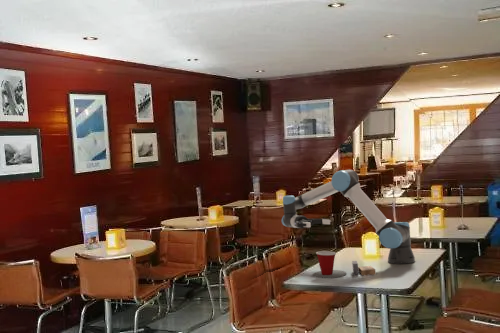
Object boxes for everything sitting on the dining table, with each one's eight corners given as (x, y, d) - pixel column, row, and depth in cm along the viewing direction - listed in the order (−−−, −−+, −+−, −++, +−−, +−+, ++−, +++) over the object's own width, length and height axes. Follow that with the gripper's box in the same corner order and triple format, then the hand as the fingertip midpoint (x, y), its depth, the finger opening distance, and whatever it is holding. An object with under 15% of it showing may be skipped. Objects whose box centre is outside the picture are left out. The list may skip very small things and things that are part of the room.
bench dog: (357, 271, 306) (356, 260, 306) (358, 274, 298) (357, 263, 298) (353, 271, 306) (352, 261, 306) (353, 275, 298) (353, 263, 298)
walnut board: (371, 271, 307) (370, 265, 307) (375, 275, 297) (375, 269, 297) (358, 272, 306) (358, 266, 306) (362, 276, 297) (362, 270, 296)
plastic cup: (338, 275, 297) (336, 253, 297) (317, 276, 298) (316, 254, 298) (337, 271, 308) (335, 249, 307) (317, 272, 309) (315, 250, 309)
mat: (345, 270, 312) (345, 269, 312) (347, 277, 294) (347, 276, 294) (313, 271, 314) (313, 270, 314) (312, 278, 296) (312, 277, 296)
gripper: (281, 218, 332) (301, 219, 313) (315, 213, 343) (336, 214, 325) (282, 230, 332) (302, 233, 313) (316, 225, 343) (338, 227, 325)
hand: (319, 223), depth 319 cm, fingers open, 13 cm apart
